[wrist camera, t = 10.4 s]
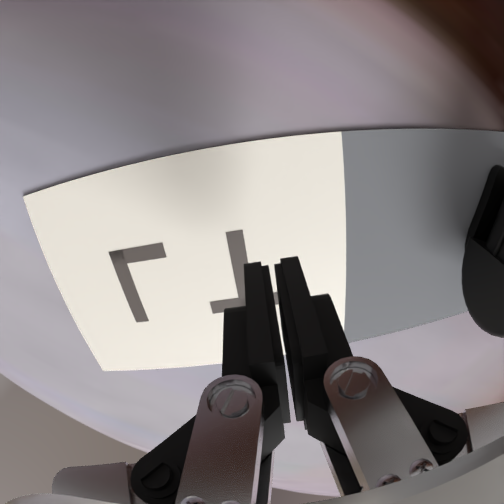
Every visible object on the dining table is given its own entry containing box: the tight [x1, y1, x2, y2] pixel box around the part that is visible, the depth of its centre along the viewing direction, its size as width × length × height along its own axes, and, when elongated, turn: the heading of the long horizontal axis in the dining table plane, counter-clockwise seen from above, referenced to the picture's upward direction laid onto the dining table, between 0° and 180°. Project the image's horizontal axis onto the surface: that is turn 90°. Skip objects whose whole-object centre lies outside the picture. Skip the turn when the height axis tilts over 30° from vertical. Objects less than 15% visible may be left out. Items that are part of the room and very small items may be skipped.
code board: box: [23, 131, 346, 371], centre depth 14 cm, size 11×14×1 cm
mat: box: [341, 128, 504, 343], centre depth 14 cm, size 11×16×1 cm
